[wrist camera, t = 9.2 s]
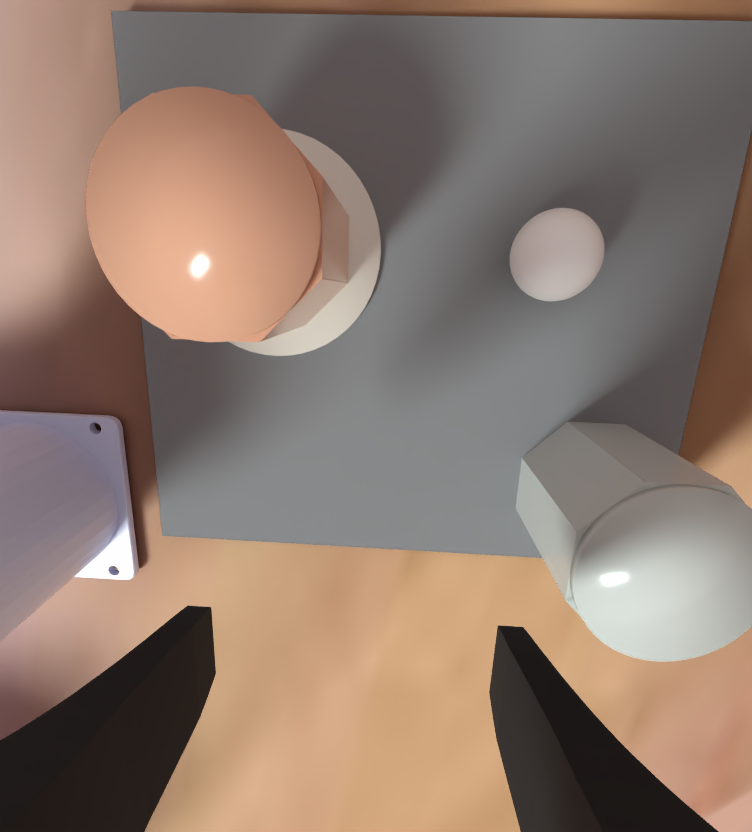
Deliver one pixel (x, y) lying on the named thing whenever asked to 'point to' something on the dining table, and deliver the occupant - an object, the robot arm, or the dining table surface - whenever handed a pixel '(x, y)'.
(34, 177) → the dining table surface
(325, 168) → the pad
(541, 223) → the marble
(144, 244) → the tan piece
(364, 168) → the mat
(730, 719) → the dining table surface
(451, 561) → the dining table surface
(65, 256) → the dining table surface
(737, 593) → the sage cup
